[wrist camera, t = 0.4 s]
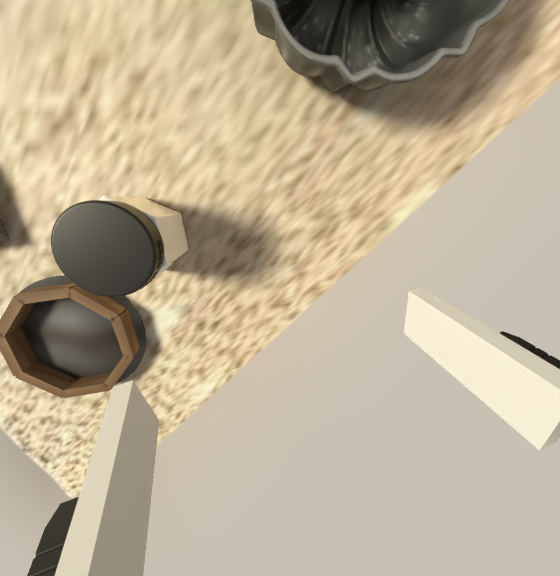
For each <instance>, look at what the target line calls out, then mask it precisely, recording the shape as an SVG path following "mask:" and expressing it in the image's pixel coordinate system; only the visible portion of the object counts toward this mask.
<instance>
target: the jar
mask: <svg viewBox="0 0 560 576" xmlns="http://www.w3.org/2000/svg"><path fill="white" fill-rule="evenodd" d="M51 246H52V252H53V255H54V258H55V260H56V262H57V264H58V266H59V268H60V269H61V271H62V272H63V273H64V274H65V276H66V277H67V278H68V279H69V280H71V281H72V282H73V283H74V284H76V285H77V286H78V287H80V288H82V289H84V290H86V291H88V292H90V293H93V294H96V295H100V296H106V297H119V296H125V295H128V294H131V293H134V292H136V291H138V290H139V289H142V288H143V287H144V286H146V285H147V284H148V283H150V282H151V281H152V280H153V279H154V278H155V277H156V276H158V275H159V274H160V273H162V272H163V271H164V270H165V269H167V268H168V267H169V266H171V265H172V264H173V261H175V260H176V259H177V258H179V257H180V256H181V255H182V254H184V253H185V252H186V251H188V244H187V240H186V235H185V230H184V226H183V221H182V216H181V214H180V213H179V212H176V211H174V210H172V209H169V208H167V207H165V206H162V205H160V204H158V203H155V202H153V201H151V200H148V199H146V198H138V197H120V196H103V197H102V198H101V199H99V200H92V201H84V202H80V203H77V204H75V205H73V206H71V207H69V208H68V209H66V210H65V211H64V212H63V213H62V214H61V215H60V216H59V217H58V219H57V220H56V222H55V224H54V227H53V230H52V235H51Z"/></svg>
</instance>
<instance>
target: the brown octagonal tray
mask: <svg viewBox="0 0 560 576" xmlns="http://www.w3.org/2000/svg"><path fill="white" fill-rule="evenodd" d="M145 346H146V334H145V329H144V325H143V323H142V320H141V318H140V316H139V314H138V313H137V311H136V310H135V308H134V307H133V306H132V305H131V303H130V302H129V301H128V300H127V299H126V298H124V297H123V296H119V297H106V296H100V295H96V294H93V293H90V292H88V291H86V290H84V289H82V288H80V287H78V286H77V285H76V284H74V283H73V282H72V281H71V280H69V279H68V278H67V277H66V276H55V277H50V278H46V279H43V280H40V281H37V282H35V283H33V284H31V285H29V286H28V287H26V288H25V289H23V290H22V291H21V292H20V293H19V294H17V295H16V296H14V297H13V299H12V300H11V302H10V304H9V306H8V307H7V309H6V311H5V312H4V314H3V316H2V318H1V319H0V351H1V353H2V355H3V356H4V358H5V360H6V362H7V364H8V366H9V368H10V370H11V372H12V374H13V375H14V376H16V378H18V379H20V380H22V381H25V382H27V383H29V384H31V385H34V386H36V387H38V388H41V389H43V390H45V391H47V392H50V393H52V394H54V395H56V396H59V397H61V398H62V397H64V398H68V397H74V396H80V395H86V394H92V393H98V392H104V391H109V390H111V389H112V387H113V386H114V385H115V383H118V382H120V381H121V380H123V379H124V378H126V377H127V376H129V375H130V374H131V373H132V372H133V371H134V370H135V368H136V367H137V366H138V364H139V363H140V361H141V359H142V357H143V354H144V351H145Z"/></svg>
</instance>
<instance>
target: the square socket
mask: <svg viewBox="0 0 560 576" xmlns="http://www.w3.org/2000/svg"><path fill="white" fill-rule="evenodd" d="M3 241H9V239H8V237H7V235H6V232H5V230H4V228H3V226H2V223H1V221H0V242H3Z"/></svg>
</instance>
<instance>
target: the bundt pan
mask: <svg viewBox="0 0 560 576" xmlns="http://www.w3.org/2000/svg"><path fill="white" fill-rule="evenodd" d="M251 1H252V7H253V13H254V20H255V26H256V29H257V31H258V32H259V33H260V34H261V35H263V36H266V37H268V38H271V39H273V40H275V41H277V45H278V48H279V51H280V53H281V55H282V57H283V59H284V60H285V62H286V63H287V65H288V66H289V67H290V68H291V69H292V70H293V71H295V72H297V73H298V74H301V75H304V76H309V77H315V76H320V77H321V79H322V80H323V82H324V83H325V84H326V86H327V87H328V89H329V90H330V91H332V92H335V91H337V90H338V89H340V88H342V87H344V86H346V85H348V84H349V83H350V84H351V85H352V86H354V87H356V88H359V89H362V90H373V89H378V88H380V87H383V86H385V85H387V84H390V83H404V82H408V81H411V80H414V79H416V78H418V77H420V76H422V75H423V74H425V73H426V72H428V71H429V70H430V69H431V68H433V67H434V66H435V65H436V64H437V63H438V62H439V61H440V59H442V58H444V57H459V56H461V55H463V54H464V53H466V52H467V51H468V49H469V47H470V45H471V43H472V40H473V38H474V36H475V34H476V32H477V30H478V28H480V27H482V26H483V25H485V24H486V23H488V22H489V21H491V20H492V19H494V18H495V17H496V16H497V15H498V14H499V13H500V12H501V11H502V10H503V9H504V8H505V7H506V6H507V4H508V3H509V2H510V0H251Z"/></svg>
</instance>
